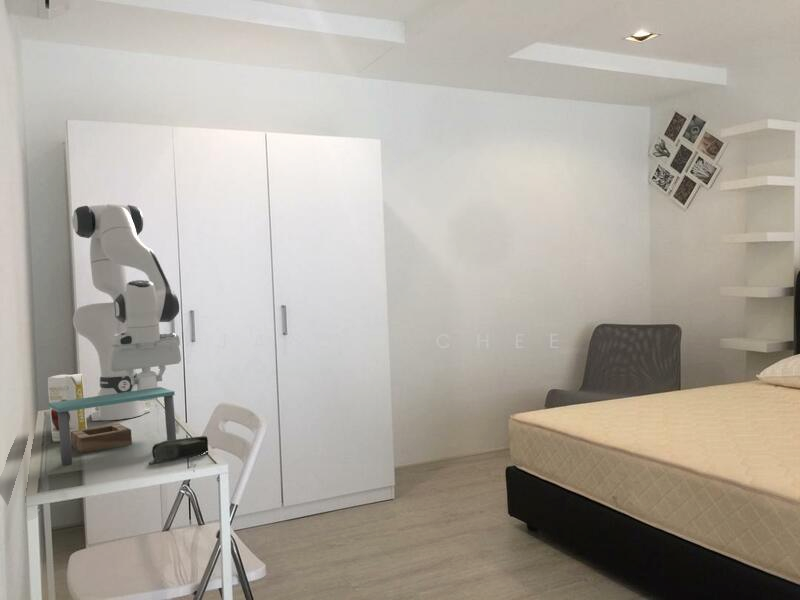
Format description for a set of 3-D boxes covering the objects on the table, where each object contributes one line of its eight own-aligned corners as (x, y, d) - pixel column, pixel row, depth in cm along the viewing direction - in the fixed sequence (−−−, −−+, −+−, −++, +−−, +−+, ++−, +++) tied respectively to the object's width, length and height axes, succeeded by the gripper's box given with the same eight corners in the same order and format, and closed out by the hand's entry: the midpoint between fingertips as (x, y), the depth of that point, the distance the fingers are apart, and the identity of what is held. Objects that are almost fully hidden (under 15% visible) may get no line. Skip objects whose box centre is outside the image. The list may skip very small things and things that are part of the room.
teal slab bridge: (53, 457, 182) (49, 403, 181) (164, 437, 199) (160, 387, 198) (62, 466, 172) (58, 408, 171) (178, 443, 189) (174, 391, 189)
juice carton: (65, 436, 208) (60, 373, 208) (91, 435, 207) (86, 372, 206) (48, 442, 201) (43, 377, 200) (75, 442, 199) (70, 376, 199)
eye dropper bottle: (157, 399, 202) (155, 359, 201) (137, 401, 200) (134, 360, 200) (158, 397, 206) (155, 357, 205) (138, 399, 204) (135, 358, 204)
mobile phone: (205, 434, 179) (145, 443, 170) (209, 435, 176) (148, 445, 168) (206, 453, 179) (146, 463, 170) (210, 455, 176) (149, 465, 168)
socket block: (71, 445, 195) (70, 431, 195) (119, 436, 203) (118, 423, 203) (81, 453, 185) (80, 438, 185) (132, 443, 193) (131, 429, 192)
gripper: (175, 331, 211) (178, 376, 212) (104, 338, 199) (108, 386, 199) (182, 333, 206) (185, 379, 207) (110, 340, 194) (113, 389, 194)
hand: (146, 382), depth 203 cm, fingers closed on eye dropper bottle, 6 cm apart
